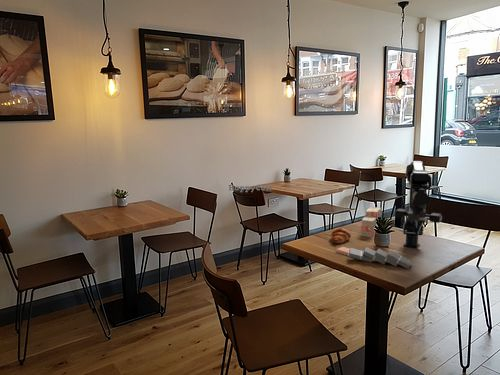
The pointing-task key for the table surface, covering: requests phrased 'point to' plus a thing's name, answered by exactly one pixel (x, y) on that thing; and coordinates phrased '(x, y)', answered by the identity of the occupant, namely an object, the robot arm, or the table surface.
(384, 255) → the domino
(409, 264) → the domino
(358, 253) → the domino
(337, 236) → the croissant
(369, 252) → the domino
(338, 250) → the domino
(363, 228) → the stack of blocks
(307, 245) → the table surface
